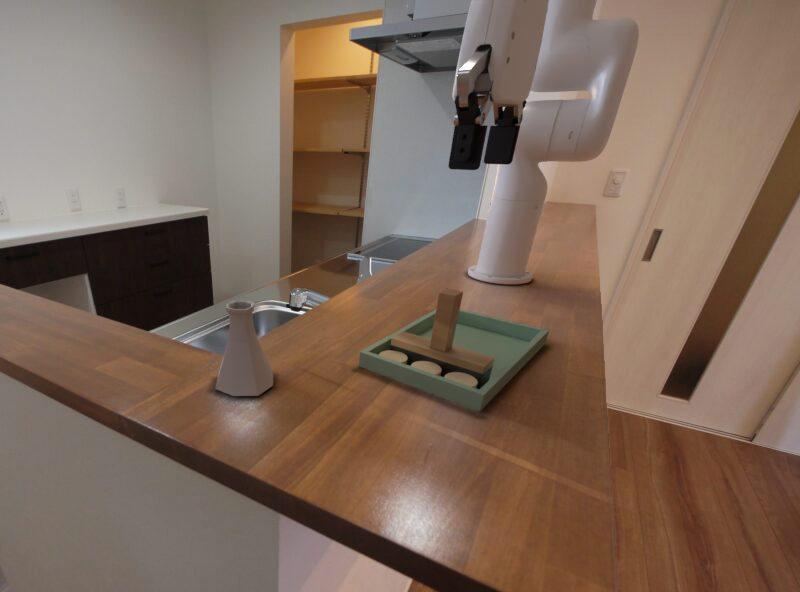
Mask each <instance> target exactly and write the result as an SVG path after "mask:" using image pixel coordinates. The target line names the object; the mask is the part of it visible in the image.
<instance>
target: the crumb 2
mask: <svg viewBox="0 0 800 592" xmlns="http://www.w3.org/2000/svg"><path fill="white" fill-rule="evenodd" d="M411 366H412V367H415V368H418V369H421V370H423V371H426V372H429V373H432V374H435V375H438V376H441V372H442V369H441V367H440V366H439V365H437V364H435V363H433V362H429V361H417V362H414V363H412V364H411Z"/></svg>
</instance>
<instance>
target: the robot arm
mask: <svg viewBox="0 0 800 592" xmlns="http://www.w3.org/2000/svg"><path fill="white" fill-rule="evenodd" d="M597 1H598V0H471V1H470V5H469V8H468V11H467V16H466V21H465V25H464V29H463V34H462V38H461V39H462V40H461V45H460V49H459V53H458V54H459V55H458V59H457V64H456V70H455V76H454V82H453V87H452V95H451V96H452V100H453V102H454V104H455V105H454V106H455V111H456V112H455V114H454V118H453V125H454V127H453V134H452V141H451V147H450V153H449V158H448V168H449V169H450V170H460V171H477V170H478V169H480V167H481V162H482V157H483V153H484V157H483V163H484V164H485V165H497V167H496V174H495V180H494V185H493V188H492V194H491V199H490V203H489V208H488V212H487V217H486V222H485V226H484V230H483V236H482V241H481V246H480V250H479V255H478V259H477V264H474V265H471V266H469V268H468V270H467V275H468V276H469V277H471V278H472V279H475V280H478V281H481V282H485V283H490V284H495V285H496V284H497V285H523V284H528V283H530V282H531V281H532V279H533V276H534V275H533V273H532V272H531V271H529V270H527V267H528V263H529V259H530V257H531V252H532V248H533V246H534V241H535V238H536V234H537V230H538V227H539V223H540V220H541V216H542V212H543V208H544V204H545V201H546V197H547V194H548V181H547V179H546V176H545V175H544V173H543V171H542V169H541V167H540V165H539V163H546V162H559V163H560V162H563V163H564V162H565V163H566V162H568V163H573V162H574V163H575V162H577V163H579V162H590V161H593V160H594V159H597V158H598V157H599V156H600V155H601V154H602V153H603V152H604V150H605V149H606V146H607V144H608V142H609V140H610V136H611V133H612V131H613V127H614V124H615V121H616V118H617V114H618V111H619V108H620V105H621V102H622V98H623V96H624V92H625V89H626V86H627V82H628V79H629V76H630V73H631V70H632V68H633V67H632V66H633V64H634V59H635V56H636V53H637V49H638V43H639V34H640V33H639V25H638V23H637V22H636V20H634V19H632V18H630V17H623V16H621V17H619V16H618V17H610V18H600V19H593V16H594V11H595V9H596V5H597ZM584 91H586V92H588V93H589V94H590V96H591V98H578V99H573V98H572V99H543V100H542V99H541V100H531V101H527V99H528V97H529V95H530V93H531V92H534V93H562V92H563V93H565V92H584ZM492 108H493V124H494V125H489V126H490V127H489V131H488V125H485V122H486V119H487V118H488V115H489V113H490V111H491V110H492ZM487 131H488V136H487V135H486V134H487ZM486 137H487V141H486ZM485 141H486V147H485V152H483V151H484V146H485Z"/></svg>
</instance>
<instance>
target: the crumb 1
mask: <svg viewBox="0 0 800 592" xmlns="http://www.w3.org/2000/svg"><path fill="white" fill-rule="evenodd" d="M379 355H380V356H383V357H386V358H389V359H391V360H394V361H397V362H400V363H403V364H406V365H407V360H408V357H407V355H406V354H404V353H402V352H399V351H394V350H387V351H383V352H381V353H379Z"/></svg>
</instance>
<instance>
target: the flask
mask: <svg viewBox="0 0 800 592" xmlns="http://www.w3.org/2000/svg"><path fill="white" fill-rule="evenodd" d="M254 310H255V302H254V301H250V300H233V301H230V302H228V303H226V306H225V311H226V313H228V318H229V320H228V321H229V328H228V336H227V337H228V338H227V343H226V347H225V351H224V354H223V356H222V357H223V358H222V360H221V365H220V368H219V370H218V371H219V372H218V376H217V379H216V382H215V383H216V384H215V387H214V388H215V390H217V391H219V392H222V393H224V394H227V395H230V396H232V397H258V396H261V395H262V394H263V393H265V392H266V391H267V390H268V389H270V388H272V387H274V373H273V370H272V368H271V366H270V363H269V361H268V359H267V357H266V355H265V353H264V349H263V348H262V345H261V343H260V341H259V338H258V335H257V333H256V332H257V331H256V329H255V328H256V327H255V325H254V318H253V312H254Z"/></svg>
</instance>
